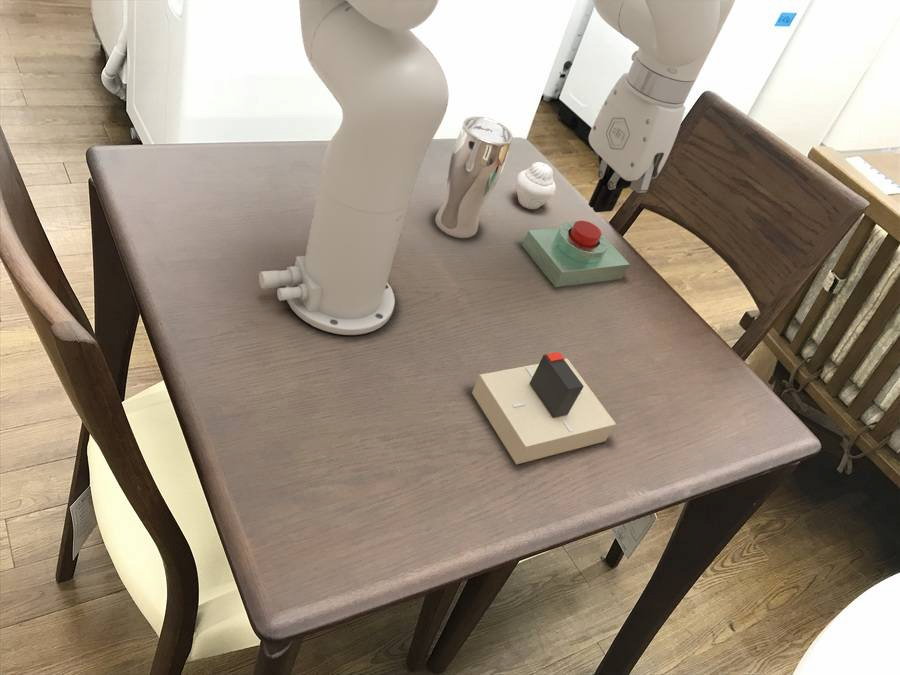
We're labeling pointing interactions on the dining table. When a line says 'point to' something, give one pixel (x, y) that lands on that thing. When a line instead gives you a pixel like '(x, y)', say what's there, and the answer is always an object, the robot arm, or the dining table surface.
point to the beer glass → (473, 174)
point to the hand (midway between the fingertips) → (600, 208)
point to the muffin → (535, 185)
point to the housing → (573, 257)
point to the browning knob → (556, 384)
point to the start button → (585, 234)
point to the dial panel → (538, 416)
